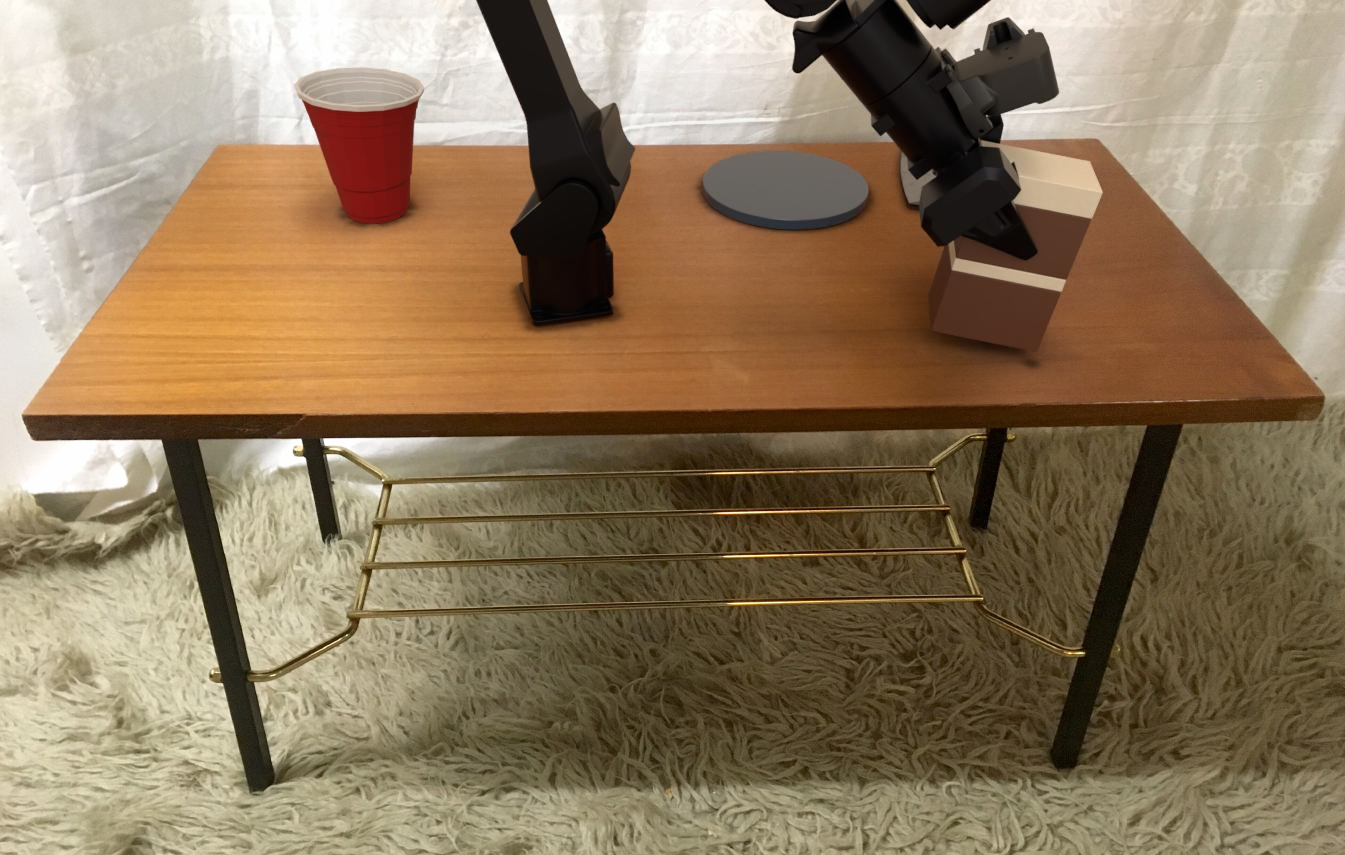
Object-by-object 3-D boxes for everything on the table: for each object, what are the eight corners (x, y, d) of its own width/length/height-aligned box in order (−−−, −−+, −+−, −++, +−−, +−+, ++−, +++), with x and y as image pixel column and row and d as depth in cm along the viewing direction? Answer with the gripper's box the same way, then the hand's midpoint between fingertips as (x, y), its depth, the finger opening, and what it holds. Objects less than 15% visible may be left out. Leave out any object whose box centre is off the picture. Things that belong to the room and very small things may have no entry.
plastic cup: (458, 218, 97) (444, 88, 90) (344, 247, 92) (319, 113, 85) (410, 176, 105) (394, 53, 97) (302, 201, 100) (276, 74, 92)
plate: (734, 239, 95) (735, 229, 95) (681, 168, 107) (681, 158, 107) (896, 218, 99) (897, 208, 98) (827, 152, 111) (828, 143, 111)
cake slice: (930, 331, 79) (985, 169, 72) (927, 296, 84) (979, 139, 76) (1036, 352, 79) (1103, 192, 71) (1028, 316, 84) (1090, 161, 76)
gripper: (1017, 36, 60) (1160, 230, 65) (986, -45, 75) (1105, 119, 80) (858, 157, 65) (1003, 327, 71) (859, 60, 80) (978, 206, 86)
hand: (1026, 237), depth 77 cm, fingers closed on cake slice, 5 cm apart
